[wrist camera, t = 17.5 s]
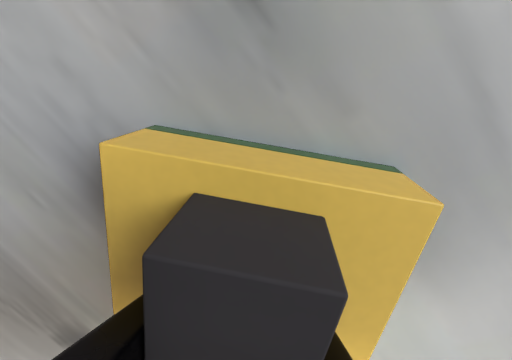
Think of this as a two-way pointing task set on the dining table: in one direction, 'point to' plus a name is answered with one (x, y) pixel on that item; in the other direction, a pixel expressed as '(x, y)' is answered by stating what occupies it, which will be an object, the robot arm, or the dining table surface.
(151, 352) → the grey eraser
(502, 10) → the dining table surface
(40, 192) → the dining table surface
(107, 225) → the sponge
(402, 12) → the dining table surface
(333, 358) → the robot arm
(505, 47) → the dining table surface
